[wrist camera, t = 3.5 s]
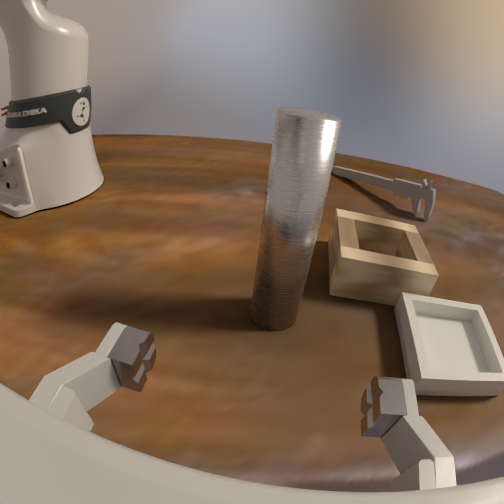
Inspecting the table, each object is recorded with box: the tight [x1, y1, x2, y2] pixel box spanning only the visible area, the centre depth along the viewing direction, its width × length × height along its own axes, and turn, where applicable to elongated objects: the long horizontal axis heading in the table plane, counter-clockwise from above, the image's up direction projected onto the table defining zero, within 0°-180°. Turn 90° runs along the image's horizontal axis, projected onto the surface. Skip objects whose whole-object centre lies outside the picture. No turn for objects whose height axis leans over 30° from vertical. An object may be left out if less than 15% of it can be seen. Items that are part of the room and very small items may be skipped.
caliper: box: [332, 166, 436, 221], centre depth 48 cm, size 20×1×6 cm, turn 38°
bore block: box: [328, 209, 439, 306], centre depth 30 cm, size 9×9×4 cm
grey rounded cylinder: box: [250, 107, 341, 331], centre depth 21 cm, size 4×4×15 cm
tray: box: [394, 292, 504, 396], centre depth 22 cm, size 9×9×2 cm
